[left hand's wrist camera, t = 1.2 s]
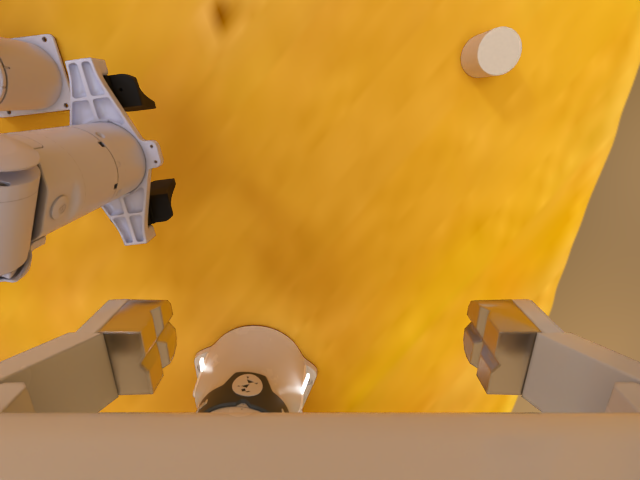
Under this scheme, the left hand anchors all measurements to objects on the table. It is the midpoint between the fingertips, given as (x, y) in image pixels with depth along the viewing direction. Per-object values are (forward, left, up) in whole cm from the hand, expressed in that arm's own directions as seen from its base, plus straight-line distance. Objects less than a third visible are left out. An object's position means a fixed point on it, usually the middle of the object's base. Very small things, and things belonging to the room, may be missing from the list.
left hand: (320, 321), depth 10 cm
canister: (+13, -17, -39) cm, 45 cm away
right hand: (-1, +17, -31) cm, 35 cm away
